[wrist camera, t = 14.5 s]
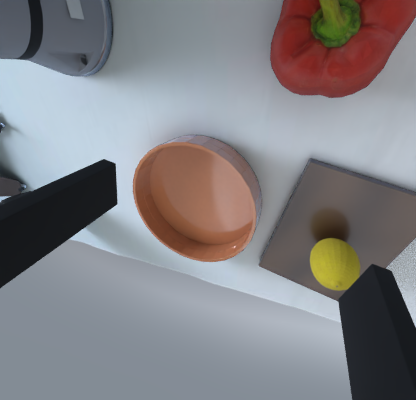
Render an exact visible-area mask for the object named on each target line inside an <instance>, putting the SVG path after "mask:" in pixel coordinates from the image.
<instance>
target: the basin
mask: <svg viewBox="0 0 416 400" xmlns="http://www.w3.org/2000/svg"><path fill="white" fill-rule="evenodd" d="M133 195H134V200H135V204H136V207H137V209H138V212H139V214H140V216H141V218H142V220H143V222H144V223H145V225H146V226H147V228H148V229H149V230H150V231H151V233H152V234H153V235H154V236H155V237H156V238H157V239H158V240H159V241H160V242H161V243H163V244H164V245H165V246H167V247H168V248H169V249H171V250H172V251H174V252H176V253H178V254H180V255H182V256H184V257H187V258H190V259H193V260H198V261H203V262H217V261H223V260H226V259H229V258H231V257H234V256H236V255H237V254H238V253H240V252H241V251H243V250H244V249H245V247H246V246H247V245H248V244H249V242H250V241H251V239H252V236H253V234H254V232H255V229H256V226H257V223H258V220H259V218H260V213H261V207H262V196H261V190H260V186H259V183H258V180H257V178H256V176H255V174H254V172H253V170H252V169H251V167H250V165H249V164H248V163H247V162H246V160H245V159H244V158H243V157H242V156H241V155H240V154H239V153H238V152H237V151H235V150H234V149H233V148H231V147H230V146H228V145H227V144H225V143H223V142H221V141H219V140H216V139H214V138H211V137H207V136H201V135H185V136H181V137H178V138H174V139H172V140H169V141H167V142H165V143H163V144H161V145H159V146H157V147H155V148H154V149H152V150H150V151H149V152H148V153H147V154H146V155H145V156H144V157H143V158H142V159H141V160H140V162H139V164H138V166H137V168H136V170H135V174H134V179H133Z"/></svg>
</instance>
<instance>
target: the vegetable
mask: <svg viewBox="0 0 416 400" xmlns="http://www.w3.org/2000/svg"><path fill="white" fill-rule="evenodd" d="M415 17H416V0H284V1H283V5H282V10H281V14H280V18H279V21H278V23H277V26H276V29H275V32H274V35H273V39H272V42H271V55H270V60H271V65H272V69H273V71H274V73H275V75H276V77H277V79H278V80H279V82H280V83H281V85H282V86H284V87H285V88H286V89H288V90H289V91H291V92H293V93H296V94H299V95H323V96H326V97H329V98H336V97H344V96H347V95H351V94H353V93H355V92H357V91H359V90H361V89H363V88H365V87H367V86H368V85H369V84H370V83H371V82H372V81H373V79H374V78H375V77H376V76H377V75H378V74H379V73H380V71H381V70H382V69H383V68H384V66H385V64H386V62H387V60H388V58H389V56H390V54H391V53H392V51H393V50H394V48H395V47H396V45H397V44H398V42H399V41H400V39H401V38H402V36H403V35H404V34H405V32H406V31H407V29H408V28H409V26H410V25H411V24H412V22H413V20H414V18H415Z"/></svg>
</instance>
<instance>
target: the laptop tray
mask: <svg viewBox="0 0 416 400" xmlns="http://www.w3.org/2000/svg"><path fill="white" fill-rule="evenodd" d="M4 127H5V125H4V124H3V123H0V133H1V129H2V128H4ZM25 188H26V185H24V184H21V183H20V182H19V181H18V180H15V179H10V178H5V177H0V196H14V195H17V194H21V193H22V191H23V190H24V189H25Z"/></svg>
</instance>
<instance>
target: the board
mask: <svg viewBox="0 0 416 400" xmlns="http://www.w3.org/2000/svg"><path fill="white" fill-rule="evenodd" d="M327 238H336V239H340V240H342V241H344V242H346V243H348V244H349V245H350V246H351V247H352V248H353V249H354V251H355V252H356V254H357V256H358V258H359V262H360V275H359V277H360V276H361V275H362V274H363V273H364V272H365V270H366V269H367V268H368V267H369V266H370V265H371V264H375V265H377V266H380V267H382V268H386V267H387V266H388V265H389V264H390V263H391V262H392V261H393V260H394V259H395V258H396V257H397V256H398V255H399V254H400V253H401V252H402V251H403V250H404V249H405V248H406V247H407V246H408V245H409V244H410V243H411V242H412V241H413V240H414V239H415V238H416V192H414V191H410V190H407V189H404V188H401V187H398V186H395V185H392V184H389V183H385V182H382V181H379V180H376V179H373V178H370V177H367V176H364V175H360V174H357V173H354V172H351V171H348V170H345V169H342V168H339V167H335V166H332V165H329V164H326V163H323V162H320V161H317V160H314V159H309V161H308V163H307V165H306V167H305V169H304V172H303V174H302V176H301V178H300V180H299V182H298V184H297V186H296V188H295V190H294V192H293V194H292V196H291V198H290V200H289V202H288V204H287V206H286V208H285V210H284V212H283V214H282V216H281V219H280V221H279V223H278V225H277V227H276V229H275V231H274V233H273V235H272V237H271V239H270V241H269V243H268V245H267V247H266V249H265V251H264V253H263V255H262V257H261V259H260V262H259V266H260V267H262V268H264V269H267V270H269V271H271V272H273V273H276V274H278V275H280V276H282V277H285V278H287V279H289V280H291V281H294V282H296V283H298V284H300V285H303V286H305V287H307V288H309V289H312V290H314V291H316V292H318V293H321V294H323V295H325V296H327V297H330V298H332V299H334V300H336V301H338V299H339V298H340V297H341V296H342V295H343V294H344V292H345V291H346V290H341V291H337V290H332V289H329V288H326V287H325V286H323V285H322V284H320V283H319V282H318V280H317V279H316V278H315V276H314V274H313V272H312V270H311V265H310V255H311V251H312V249H313V247H314V246H315V244H317V243H318V242H319V241H321V240H323V239H327Z"/></svg>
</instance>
